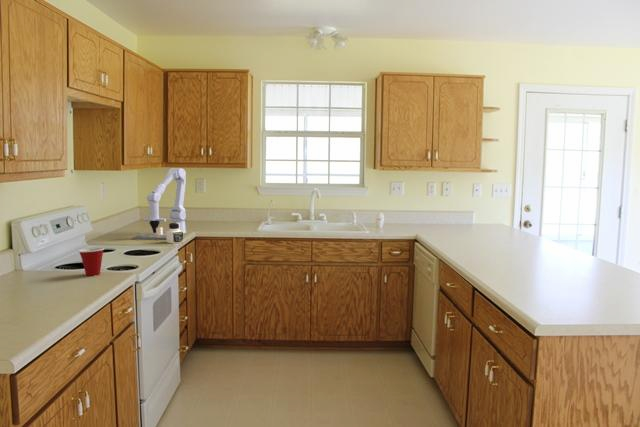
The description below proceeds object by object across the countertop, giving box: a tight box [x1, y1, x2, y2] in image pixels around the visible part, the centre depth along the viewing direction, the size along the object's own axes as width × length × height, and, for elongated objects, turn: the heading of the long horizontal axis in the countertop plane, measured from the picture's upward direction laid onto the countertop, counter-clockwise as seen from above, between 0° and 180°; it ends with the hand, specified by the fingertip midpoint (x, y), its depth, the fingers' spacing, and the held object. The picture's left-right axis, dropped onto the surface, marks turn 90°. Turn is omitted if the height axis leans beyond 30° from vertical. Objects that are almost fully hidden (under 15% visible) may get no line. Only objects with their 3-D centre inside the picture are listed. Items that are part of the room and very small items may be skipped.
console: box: [132, 232, 167, 241], centre depth 328 cm, size 14×22×2 cm, turn 84°
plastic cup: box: [77, 247, 105, 277], centre depth 231 cm, size 11×11×12 cm
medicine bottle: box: [165, 222, 184, 244], centre depth 312 cm, size 7×7×12 cm
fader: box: [156, 226, 164, 235], centre depth 328 cm, size 3×3×5 cm
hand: (154, 232), depth 328 cm, fingers closed
